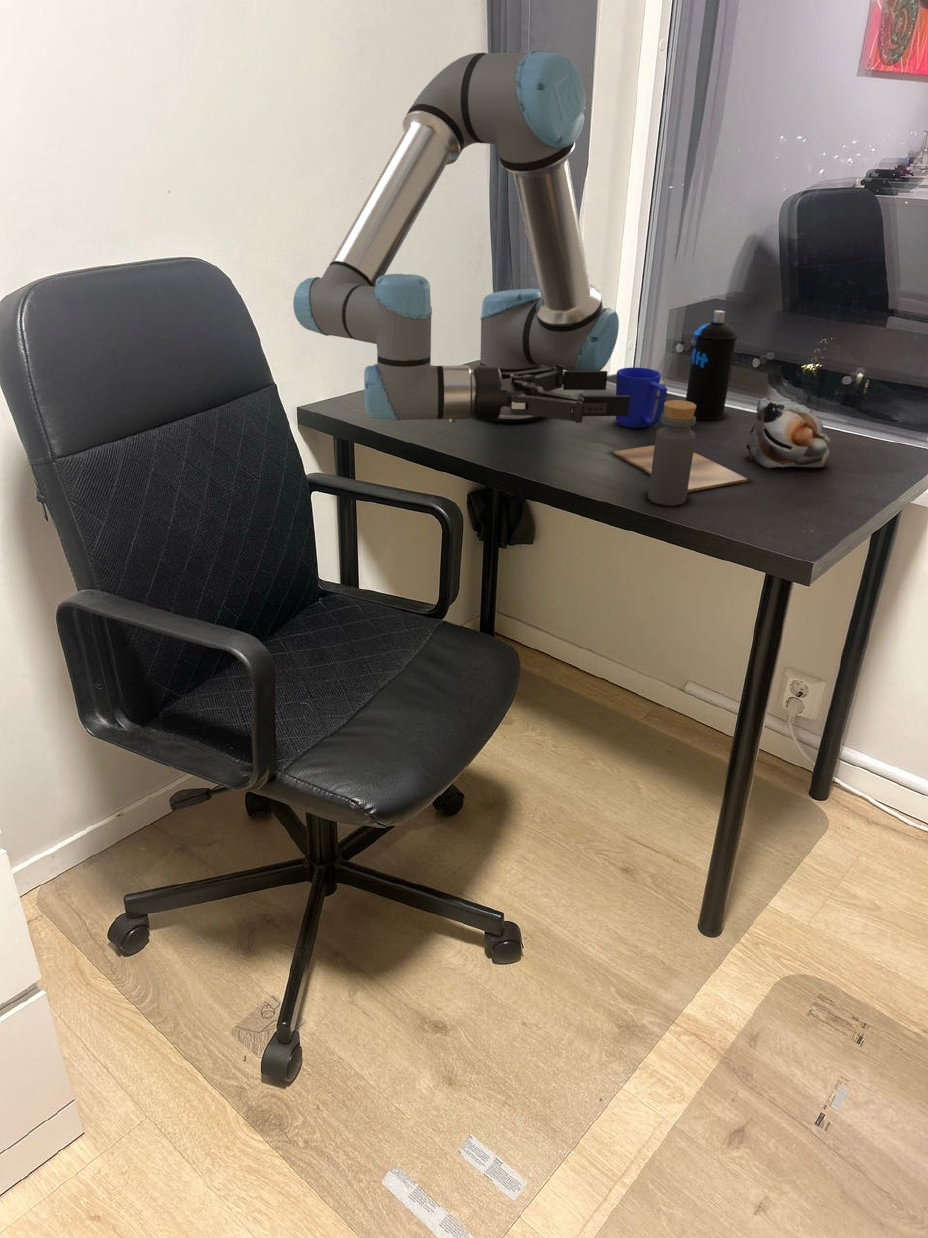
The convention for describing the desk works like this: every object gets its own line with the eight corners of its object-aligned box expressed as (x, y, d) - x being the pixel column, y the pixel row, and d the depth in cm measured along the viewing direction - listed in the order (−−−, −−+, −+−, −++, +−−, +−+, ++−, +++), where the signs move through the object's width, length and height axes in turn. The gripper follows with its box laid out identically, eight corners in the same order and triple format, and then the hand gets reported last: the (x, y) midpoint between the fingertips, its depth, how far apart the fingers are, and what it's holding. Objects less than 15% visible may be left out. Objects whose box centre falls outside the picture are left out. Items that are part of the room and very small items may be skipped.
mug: (641, 439, 162) (647, 385, 157) (603, 421, 172) (608, 369, 167) (675, 433, 166) (683, 380, 161) (636, 416, 175) (642, 365, 170)
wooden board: (613, 453, 155) (614, 451, 155) (673, 444, 160) (674, 442, 160) (683, 492, 140) (684, 490, 139) (747, 481, 144) (748, 478, 144)
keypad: (666, 377, 187) (616, 388, 179) (664, 394, 189) (614, 405, 181) (633, 368, 193) (584, 377, 186) (632, 384, 195) (582, 395, 187)
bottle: (643, 492, 140) (655, 398, 132) (679, 491, 140) (693, 398, 133) (653, 506, 135) (666, 410, 127) (690, 505, 135) (705, 409, 128)
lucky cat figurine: (842, 464, 152) (862, 405, 140) (794, 502, 149) (811, 445, 138) (775, 419, 159) (788, 360, 148) (728, 454, 157) (738, 397, 145)
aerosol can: (720, 409, 180) (737, 307, 170) (727, 421, 173) (745, 316, 163) (680, 407, 180) (694, 306, 171) (684, 419, 173) (700, 314, 163)
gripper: (464, 394, 139) (595, 394, 141) (480, 445, 117) (635, 444, 119) (465, 346, 135) (600, 346, 137) (482, 389, 114) (642, 389, 116)
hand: (617, 392), depth 128 cm, fingers open, 13 cm apart
